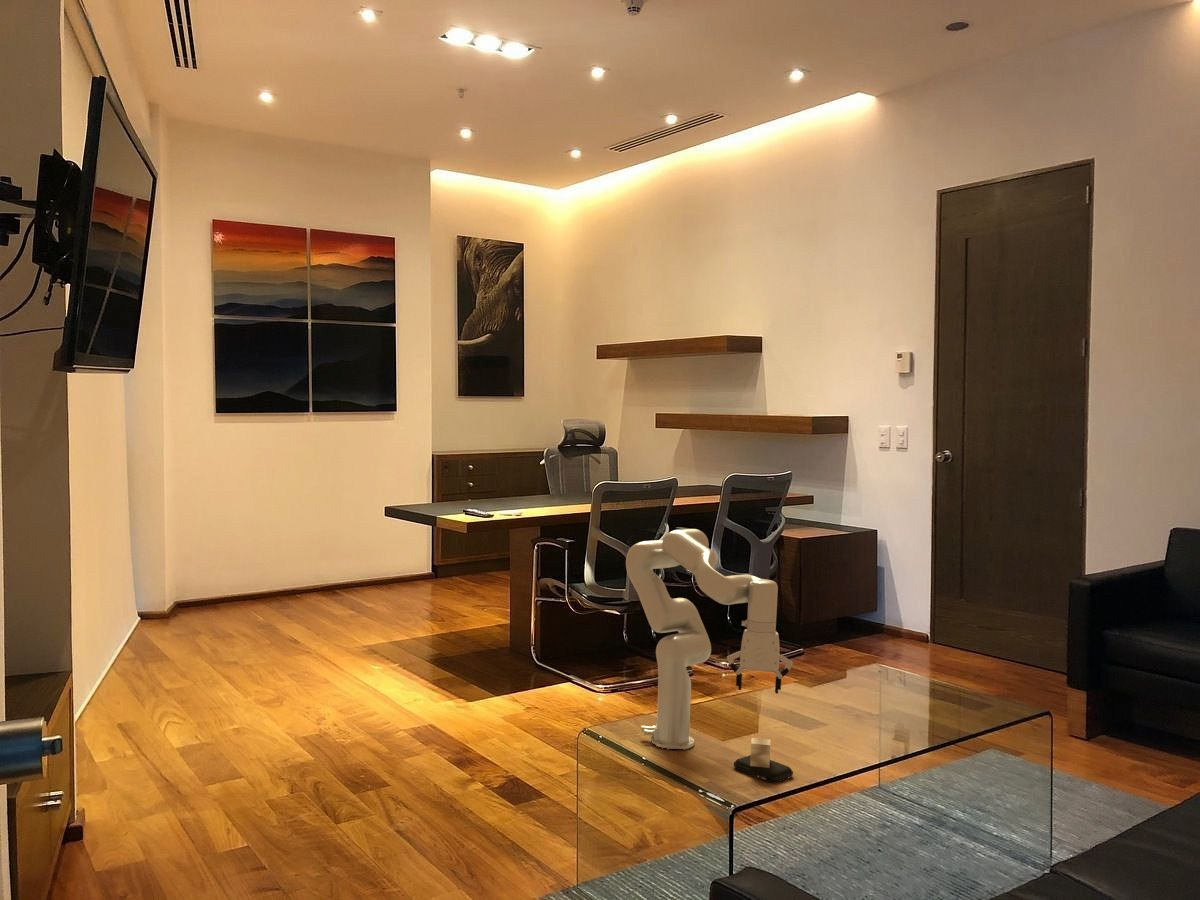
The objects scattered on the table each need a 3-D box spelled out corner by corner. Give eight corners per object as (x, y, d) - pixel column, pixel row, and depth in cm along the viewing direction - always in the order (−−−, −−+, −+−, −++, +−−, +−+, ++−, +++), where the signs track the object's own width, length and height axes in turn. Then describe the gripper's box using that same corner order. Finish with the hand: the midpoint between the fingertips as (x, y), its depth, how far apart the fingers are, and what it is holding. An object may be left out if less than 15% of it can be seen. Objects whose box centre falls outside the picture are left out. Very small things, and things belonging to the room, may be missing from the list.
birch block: (750, 765, 250) (751, 743, 250) (750, 759, 255) (751, 737, 254) (769, 767, 249) (770, 745, 249) (769, 761, 254) (770, 739, 254)
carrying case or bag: (727, 770, 254) (770, 787, 243) (727, 759, 254) (770, 775, 243) (752, 762, 261) (796, 778, 250) (753, 751, 261) (796, 767, 250)
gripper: (727, 626, 247) (724, 691, 248) (795, 632, 244) (791, 697, 245) (729, 621, 255) (725, 683, 255) (794, 626, 252) (790, 689, 252)
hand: (758, 690), depth 250 cm, fingers open, 9 cm apart
